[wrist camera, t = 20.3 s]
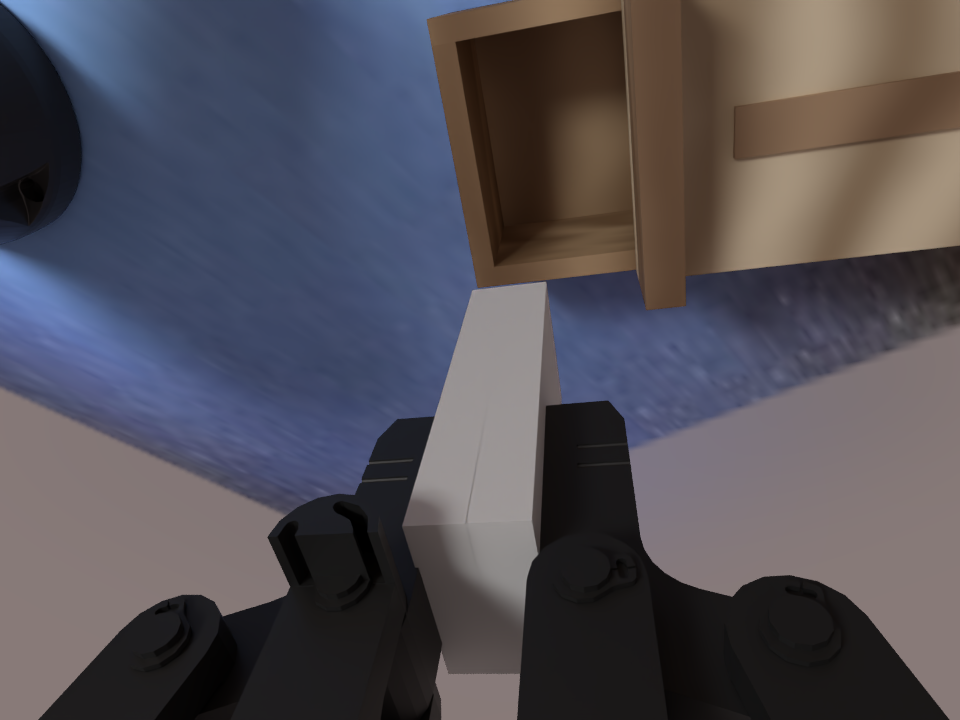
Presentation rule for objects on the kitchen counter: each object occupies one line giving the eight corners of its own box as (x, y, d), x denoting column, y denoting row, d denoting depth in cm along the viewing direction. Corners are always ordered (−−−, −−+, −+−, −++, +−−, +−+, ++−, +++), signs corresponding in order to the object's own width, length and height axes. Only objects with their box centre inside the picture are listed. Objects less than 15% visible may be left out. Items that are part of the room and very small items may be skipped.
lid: (636, 271, 30) (646, 310, 27) (620, -19, 24) (629, -19, 21) (1073, 221, 27) (1151, 257, 23) (1174, -129, 21) (1299, -151, 18)
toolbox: (491, 239, 38) (477, 287, 32) (452, 12, 32) (426, 19, 26) (818, 197, 34) (871, 242, 29) (841, -65, 29) (913, -78, 23)
